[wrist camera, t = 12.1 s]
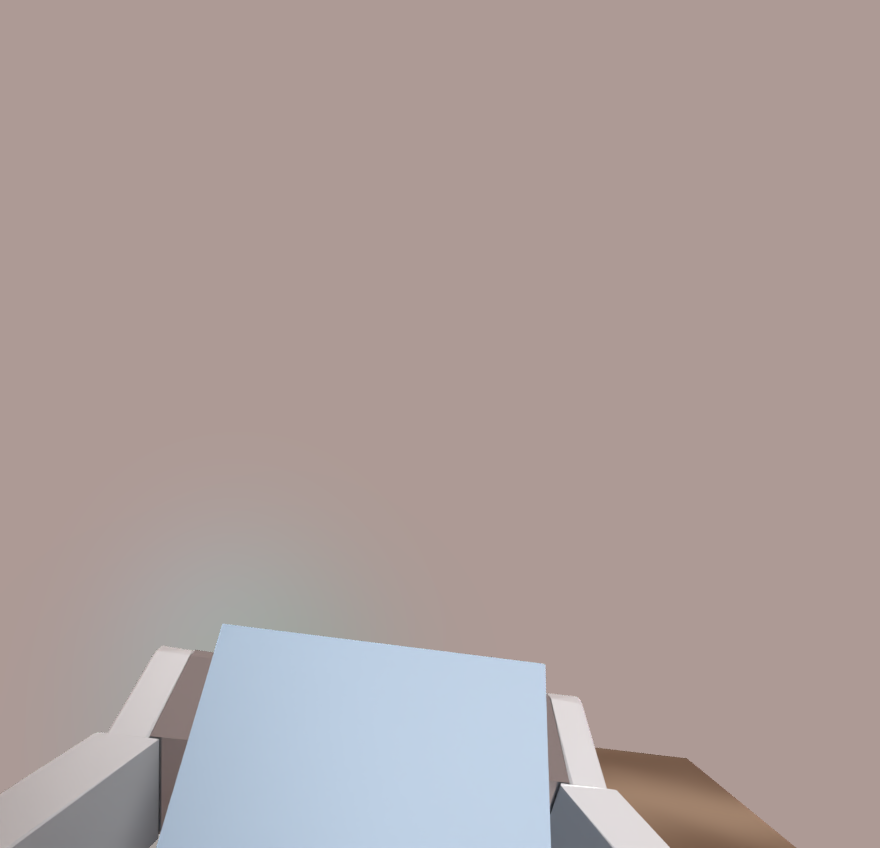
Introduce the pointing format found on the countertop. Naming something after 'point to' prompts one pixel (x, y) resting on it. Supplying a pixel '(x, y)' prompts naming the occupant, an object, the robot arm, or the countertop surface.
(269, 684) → the rail
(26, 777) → the robot arm
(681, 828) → the stand
